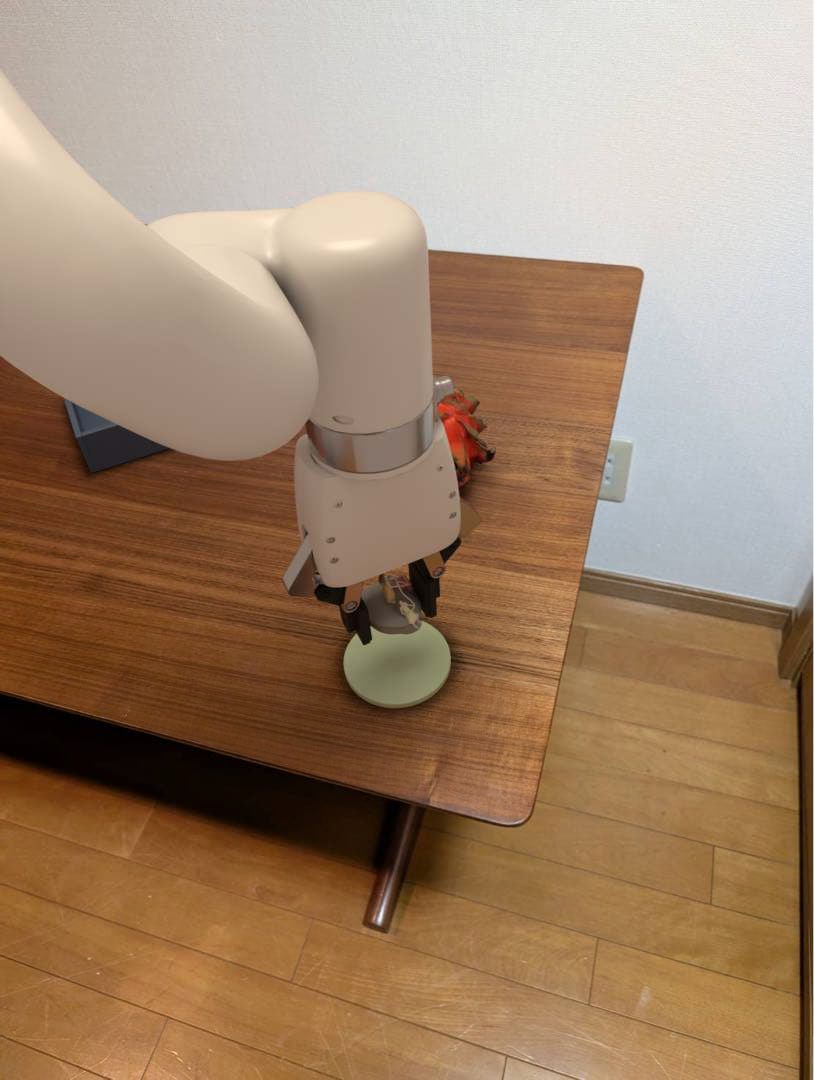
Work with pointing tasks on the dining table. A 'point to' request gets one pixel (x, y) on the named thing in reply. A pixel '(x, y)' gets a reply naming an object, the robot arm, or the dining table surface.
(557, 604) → the dining table surface
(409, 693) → the mat
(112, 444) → the basket
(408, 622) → the figurine
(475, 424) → the dragon fruit
